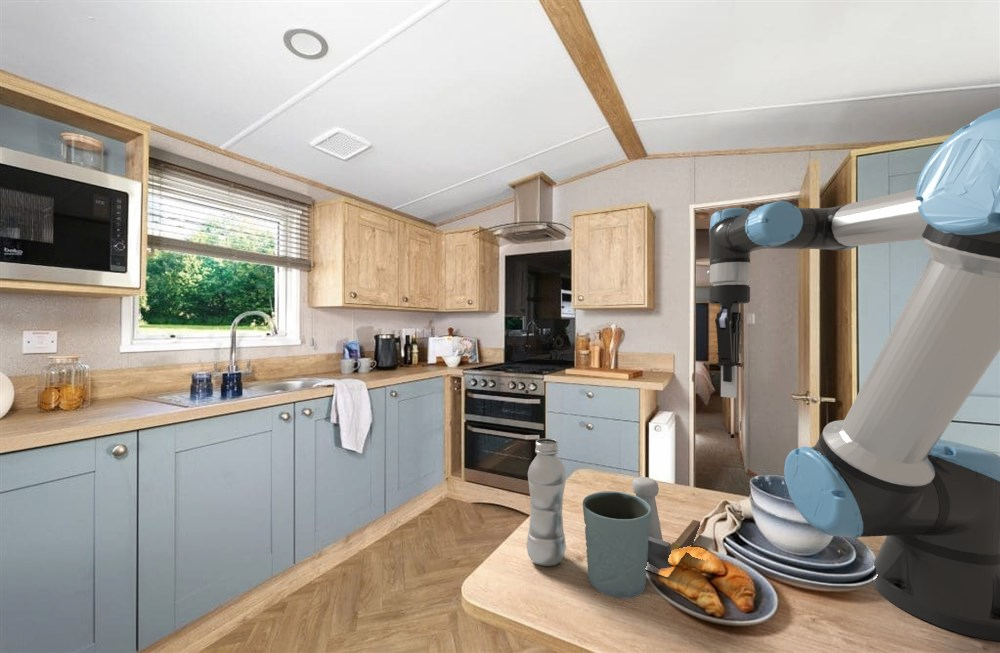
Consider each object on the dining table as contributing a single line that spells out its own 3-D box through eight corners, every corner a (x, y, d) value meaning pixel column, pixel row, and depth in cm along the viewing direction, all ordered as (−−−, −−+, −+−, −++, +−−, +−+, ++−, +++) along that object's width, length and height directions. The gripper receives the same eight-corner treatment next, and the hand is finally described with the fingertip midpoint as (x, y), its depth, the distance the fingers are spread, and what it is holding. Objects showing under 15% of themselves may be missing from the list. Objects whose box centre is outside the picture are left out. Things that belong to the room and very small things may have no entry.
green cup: (650, 570, 68) (651, 495, 68) (650, 610, 58) (651, 524, 58) (587, 557, 71) (587, 487, 71) (577, 594, 62) (577, 512, 61)
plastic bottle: (518, 560, 70) (518, 441, 70) (545, 545, 75) (545, 434, 75) (547, 577, 66) (547, 449, 65) (574, 560, 70) (574, 441, 70)
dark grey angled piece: (700, 534, 79) (700, 508, 79) (667, 578, 65) (667, 546, 65) (640, 516, 86) (640, 492, 86) (600, 552, 73) (600, 523, 73)
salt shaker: (656, 546, 75) (656, 473, 75) (668, 564, 69) (668, 486, 69) (623, 545, 75) (623, 473, 75) (632, 564, 69) (633, 485, 69)
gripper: (717, 287, 96) (717, 391, 96) (701, 283, 86) (700, 399, 86) (755, 286, 91) (755, 395, 91) (743, 281, 81) (742, 403, 81)
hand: (728, 396), depth 88 cm, fingers closed
